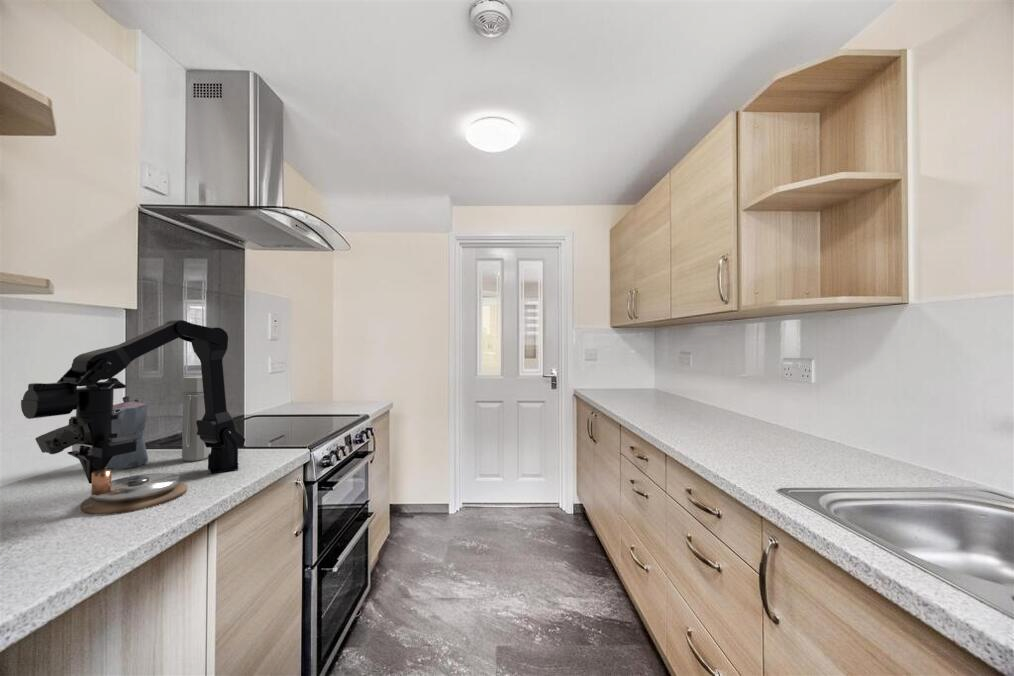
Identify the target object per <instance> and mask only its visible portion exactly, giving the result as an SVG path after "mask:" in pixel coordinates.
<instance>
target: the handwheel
mask: <svg viewBox="0 0 1014 676" xmlns="http://www.w3.org/2000/svg"><path fill="white" fill-rule="evenodd" d="M179 482H180V475H179V474H177V473H173V472H153V473H151V472H150V473H143V474H137V475H132V476H126V477H121V478H116V479H112V470H111V469H108V468H107V469H106V468H105V469H104V470H98V471H94V472H92V484H91V491H90V497H91V499H92V500H93V501H97V502H119V501H128V500H134V499H140V498H144V497H149V496H153V495H157V494H160V493H163V492H166V491H168V490H171V489H173V488H175V487H176V486H178V484H179Z"/></svg>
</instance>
